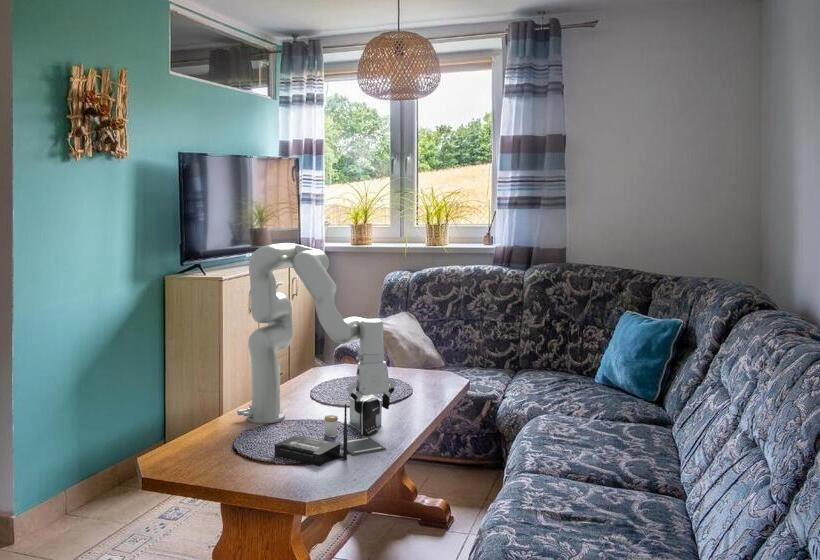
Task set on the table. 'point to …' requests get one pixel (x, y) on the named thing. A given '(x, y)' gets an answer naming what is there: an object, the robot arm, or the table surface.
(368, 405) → the battery charger
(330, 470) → the table surface
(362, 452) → the mat
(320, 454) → the black router
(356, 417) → the wall box
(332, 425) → the white cylinder
